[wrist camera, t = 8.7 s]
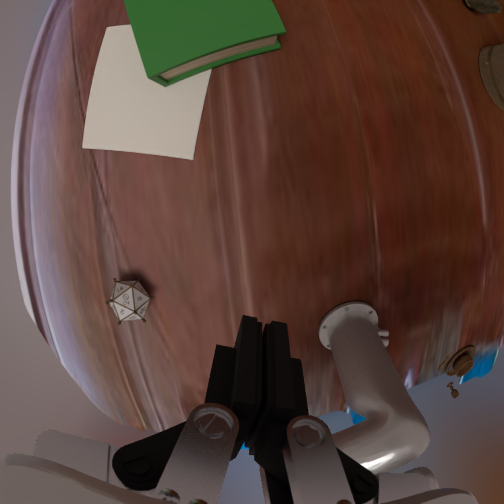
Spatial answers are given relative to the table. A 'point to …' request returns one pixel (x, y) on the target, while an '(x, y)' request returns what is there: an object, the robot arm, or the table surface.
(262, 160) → the table surface
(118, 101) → the desk pad
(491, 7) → the cup
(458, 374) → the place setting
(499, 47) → the wooden container
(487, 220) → the table surface
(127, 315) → the game die
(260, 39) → the hardback book
